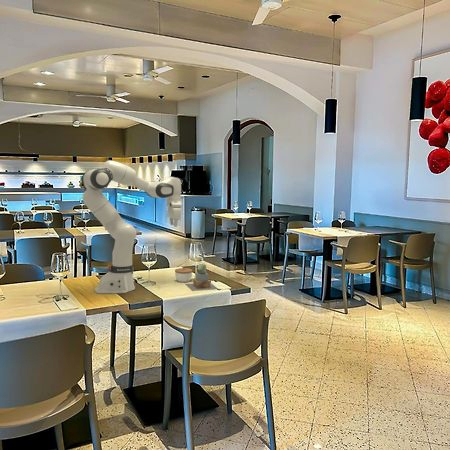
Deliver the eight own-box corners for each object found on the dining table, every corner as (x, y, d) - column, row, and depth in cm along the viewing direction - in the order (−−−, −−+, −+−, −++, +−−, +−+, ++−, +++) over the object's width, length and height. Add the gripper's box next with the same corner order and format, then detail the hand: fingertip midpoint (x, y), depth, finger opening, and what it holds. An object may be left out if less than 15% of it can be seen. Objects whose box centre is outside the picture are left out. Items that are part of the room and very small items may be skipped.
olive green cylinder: (198, 274, 252) (199, 266, 251) (196, 272, 257) (196, 264, 256) (207, 274, 254) (207, 265, 253) (204, 272, 258) (204, 264, 258)
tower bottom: (196, 288, 251) (197, 282, 251) (193, 285, 259) (193, 278, 258) (210, 287, 254) (210, 281, 253) (206, 284, 261) (206, 278, 261)
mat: (192, 292, 246) (192, 291, 246) (185, 285, 261) (185, 284, 261) (218, 290, 251) (218, 289, 251) (210, 283, 266) (210, 282, 266)
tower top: (198, 281, 252) (198, 274, 251) (195, 279, 257) (195, 272, 257) (208, 280, 254) (208, 274, 253) (205, 278, 259) (205, 271, 259)
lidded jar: (193, 280, 274) (193, 265, 273) (190, 284, 263) (190, 269, 262) (176, 279, 275) (177, 265, 274) (173, 283, 264) (173, 268, 263)
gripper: (165, 202, 272) (165, 223, 274) (172, 204, 253) (172, 227, 255) (175, 202, 275) (174, 223, 276) (182, 204, 255) (182, 227, 257)
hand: (173, 225), depth 265 cm, fingers open, 8 cm apart
